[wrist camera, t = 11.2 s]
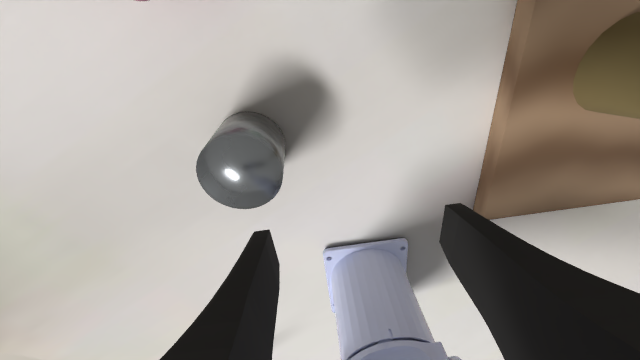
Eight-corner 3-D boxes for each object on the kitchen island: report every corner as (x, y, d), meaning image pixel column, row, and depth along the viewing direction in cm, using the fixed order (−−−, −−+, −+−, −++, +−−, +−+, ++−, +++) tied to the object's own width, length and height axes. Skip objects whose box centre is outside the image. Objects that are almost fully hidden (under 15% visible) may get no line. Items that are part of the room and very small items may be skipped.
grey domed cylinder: (290, 170, 21) (289, 203, 17) (227, 178, 21) (212, 213, 17) (278, 106, 19) (273, 129, 15) (206, 117, 19) (182, 142, 15)
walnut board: (626, 188, 25) (644, 198, 23) (472, 209, 25) (482, 220, 23) (830, -186, 13) (887, -208, 12) (548, -147, 13) (575, -165, 12)
